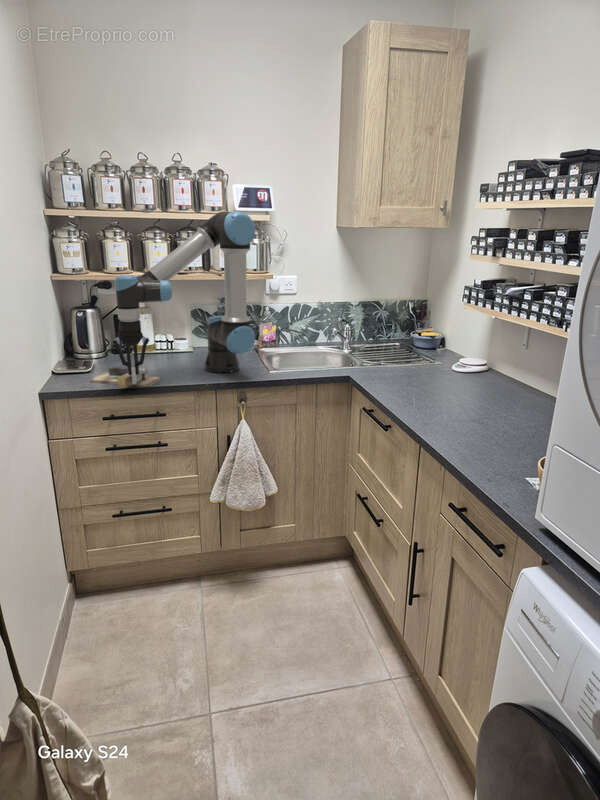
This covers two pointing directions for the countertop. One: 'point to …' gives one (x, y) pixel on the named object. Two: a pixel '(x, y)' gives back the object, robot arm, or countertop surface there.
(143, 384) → the jamb plate
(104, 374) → the keeper plate
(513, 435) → the countertop surface
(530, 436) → the countertop surface
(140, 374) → the swing bar
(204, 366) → the robot arm
